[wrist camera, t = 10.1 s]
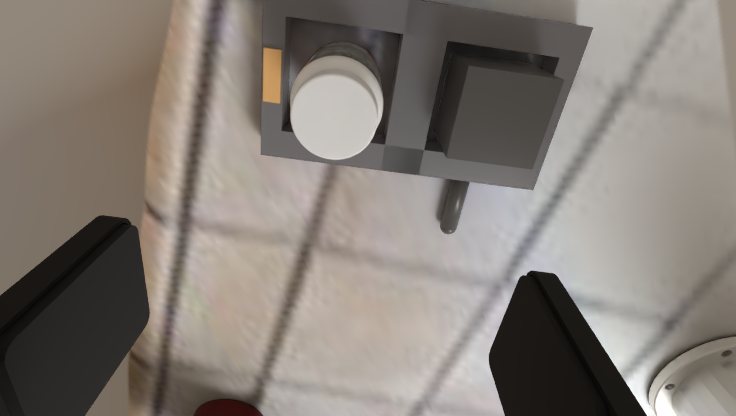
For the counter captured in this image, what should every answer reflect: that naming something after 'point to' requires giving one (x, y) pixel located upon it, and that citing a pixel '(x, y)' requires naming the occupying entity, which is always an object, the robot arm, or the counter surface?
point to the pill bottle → (337, 101)
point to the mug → (226, 409)
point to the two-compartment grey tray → (459, 97)
